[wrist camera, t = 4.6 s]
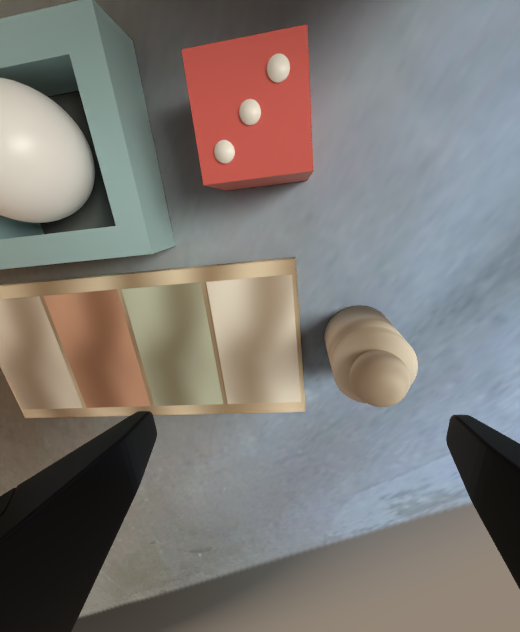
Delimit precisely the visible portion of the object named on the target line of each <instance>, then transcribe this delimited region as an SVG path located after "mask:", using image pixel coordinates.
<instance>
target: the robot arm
mask: <svg viewBox="0 0 520 632" xmlns="http://www.w3.org/2000/svg"><path fill="white" fill-rule="evenodd" d="M156 437H157V430H156V426H155V422H154V417H153V414H152V412H150V411H137V412H136V413H134V414H132V415H131V416H129V417H128V418H126V419H124V420H123V421H121V422H119V423H118V424H116V425H115V426H113V427H111V428H110V429H108V430H107V431H105V432H103V433H102V434H100V435H99V436H97V437H95V438H94V439H92V440H90V441H89V442H87V443H86V444H84V445H82V446H81V447H79V448H78V449H76V450H74V451H73V452H71V453H69V454H68V455H66V456H65V457H63V458H61V459H60V460H58V461H57V462H55V463H53V464H52V465H50V466H48V467H47V468H45V469H44V470H42V471H40V472H39V473H37V474H36V475H34V476H32V477H31V478H29V479H28V480H26V481H24V482H23V483H21V484H19V485H18V486H17V487H16V488H13V489H11V490H10V491H8V492H6V493H5V494H3V495H2V496H0V632H72V630H73V627H74V625H75V623H76V621H77V619H78V617H79V615H80V612H81V610H82V608H83V606H84V604H85V602H86V600H87V597H88V595H89V593H90V591H91V589H92V587H93V585H94V582H95V580H96V578H97V576H98V574H99V572H100V570H101V567H102V565H103V563H104V561H105V559H106V557H107V555H108V552H109V550H110V548H111V546H112V544H113V542H114V540H115V537H116V535H117V533H118V531H119V529H120V527H121V525H122V522H123V520H124V518H125V516H126V514H127V512H128V510H129V507H130V505H131V503H132V501H133V499H134V497H135V495H136V492H137V490H138V488H139V485H140V483H141V480H142V477H143V475H144V472H145V469H146V466H147V463H148V461H149V458H150V455H151V452H152V449H153V446H154V444H155V441H156ZM446 440H447V445H448V448H449V450H450V453H451V455H452V457H453V460H454V462H455V464H456V467H457V469H458V471H459V473H460V476H461V478H462V480H463V483H464V485H465V487H466V490H467V492H468V494H469V496H470V499H471V501H472V503H473V505H474V507H475V508H476V510H477V512H478V514H479V516H480V518H481V519H482V521H483V523H484V525H485V527H486V529H487V530H488V532H489V534H490V536H491V538H492V540H493V541H494V543H495V545H496V547H497V549H498V551H499V552H500V554H501V556H502V558H503V560H504V561H505V563H506V565H507V567H508V569H509V570H510V572H511V574H512V576H513V578H514V580H515V582H516V583H517V585H518V587H519V589H520V444H519V443H517V442H516V441H514V440H512V439H510V438H509V437H507V436H505V435H503V434H501V433H500V432H498V431H496V430H494V429H493V428H491V427H489V426H487V425H485V424H484V423H482V422H480V421H478V420H477V419H475V418H473V417H471V416H469V415H453V416H452V417H451V418H450V422H449V427H448V432H447V438H446Z"/></svg>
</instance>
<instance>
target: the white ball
mask: <svg viewBox="0 0 520 632" xmlns="http://www.w3.org/2000/svg"><path fill="white" fill-rule="evenodd" d="M94 181H95V165H94V159H93V155H92V152H91V149H90V146H89V144H88V142H87V140H86V138H85V136H84V134H83V133H82V131H81V129H80V128H79V127H78V125H77V124H76V122H75V121H74V120H73V119H72V118H71V117H70V116H69V115H68V114H67V112H66V111H65V110H63V109H62V108H61V107H60V106H59V105H58V104H57V103H55V102H54V101H53V100H51V99H50V98H48V97H47V96H46V95H44V94H42V93H40V92H39V91H37V90H35V89H33V88H31V87H29V86H27V85H24V84H22V83H19V82H16V81H14V80H10V79H5V78H0V215H2V216H4V217H7V218H10V219H14V220H18V221H24V222H32V223H44V222H52V221H57V220H60V219H63V218H65V217H68V216H70V215H72V214H73V213H75V212H76V211H78V210H79V209H80V208H81V207H82V206H83V205H84V204H85V203H86V201H87V200H88V198H89V196H90V195H91V192H92V190H93V186H94Z"/></svg>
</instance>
